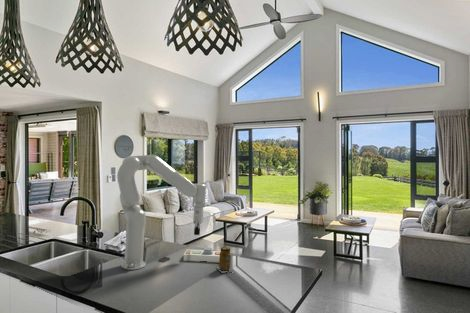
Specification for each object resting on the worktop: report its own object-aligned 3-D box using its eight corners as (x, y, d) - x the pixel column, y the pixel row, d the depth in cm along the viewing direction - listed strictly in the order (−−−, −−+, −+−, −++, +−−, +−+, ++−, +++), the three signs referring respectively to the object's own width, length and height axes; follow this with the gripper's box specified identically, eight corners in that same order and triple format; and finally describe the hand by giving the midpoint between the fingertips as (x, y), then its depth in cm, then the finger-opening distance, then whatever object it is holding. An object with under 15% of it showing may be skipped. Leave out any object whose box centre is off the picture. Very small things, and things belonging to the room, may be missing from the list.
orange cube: (222, 260, 177) (222, 254, 177) (215, 259, 177) (215, 253, 177) (222, 257, 181) (223, 251, 181) (215, 257, 181) (216, 251, 181)
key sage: (199, 258, 177) (199, 253, 177) (191, 258, 177) (192, 252, 177) (200, 256, 181) (200, 250, 181) (192, 256, 181) (193, 250, 181)
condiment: (228, 267, 167) (229, 246, 167) (233, 272, 159) (234, 250, 159) (216, 268, 165) (217, 246, 165) (220, 274, 157) (221, 251, 157)
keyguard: (226, 262, 174) (226, 255, 174) (183, 260, 174) (183, 253, 174) (227, 257, 184) (227, 250, 184) (186, 255, 184) (186, 248, 184)
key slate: (211, 255, 177) (211, 250, 177) (203, 255, 177) (204, 249, 177) (211, 253, 181) (212, 247, 181) (204, 253, 181) (204, 247, 181)
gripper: (203, 206, 172) (201, 238, 172) (206, 202, 187) (204, 232, 186) (190, 205, 172) (188, 237, 172) (194, 202, 187) (192, 231, 186)
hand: (196, 234), depth 179 cm, fingers closed
